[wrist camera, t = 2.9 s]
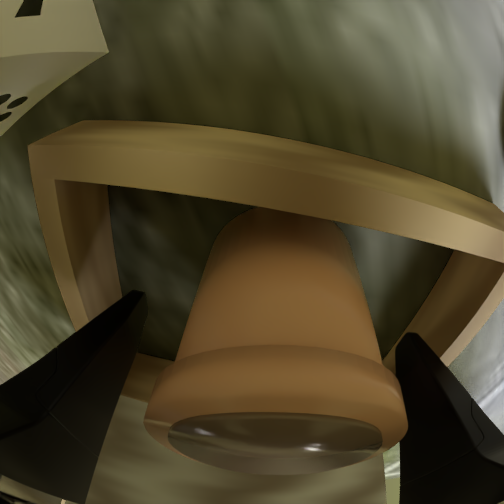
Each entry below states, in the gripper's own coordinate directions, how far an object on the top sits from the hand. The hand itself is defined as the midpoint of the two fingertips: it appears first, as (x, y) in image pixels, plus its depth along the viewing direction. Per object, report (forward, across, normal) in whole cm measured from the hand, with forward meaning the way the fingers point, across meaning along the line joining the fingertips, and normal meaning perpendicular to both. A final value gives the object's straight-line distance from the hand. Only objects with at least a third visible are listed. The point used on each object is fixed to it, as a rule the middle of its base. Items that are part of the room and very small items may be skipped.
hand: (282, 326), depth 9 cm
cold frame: (+3, 0, +2) cm, 3 cm away
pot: (+3, 0, 0) cm, 3 cm away
